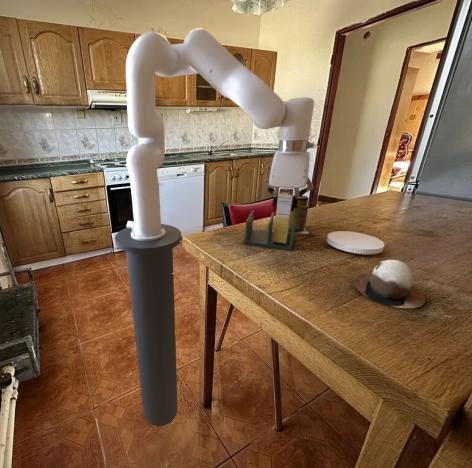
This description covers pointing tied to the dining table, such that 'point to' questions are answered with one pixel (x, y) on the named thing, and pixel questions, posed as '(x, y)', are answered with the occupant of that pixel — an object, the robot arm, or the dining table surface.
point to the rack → (266, 235)
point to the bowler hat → (390, 285)
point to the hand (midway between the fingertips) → (283, 208)
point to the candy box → (283, 215)
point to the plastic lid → (355, 242)
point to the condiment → (299, 216)
